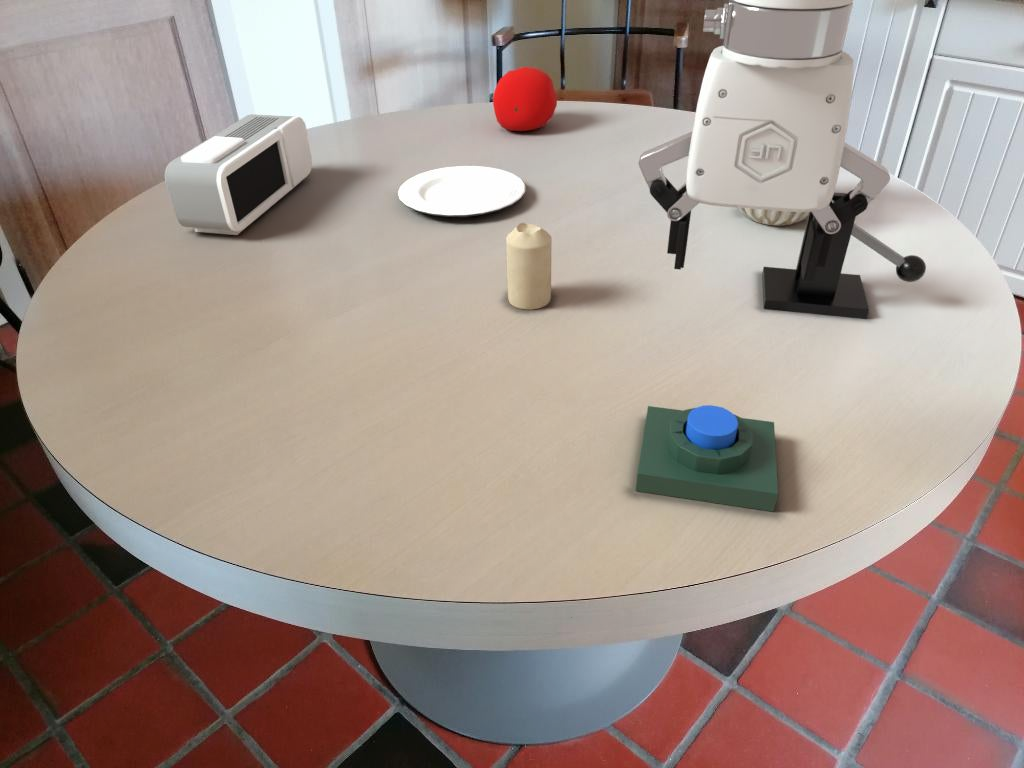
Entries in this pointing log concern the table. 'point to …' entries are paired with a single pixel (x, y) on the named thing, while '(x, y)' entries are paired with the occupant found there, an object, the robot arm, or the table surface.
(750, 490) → the switch box
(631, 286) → the table surface
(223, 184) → the alarm clock
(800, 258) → the switch bracket
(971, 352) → the table surface
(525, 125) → the tomato
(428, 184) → the plate
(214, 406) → the table surface
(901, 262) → the lever
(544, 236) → the candle
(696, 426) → the button
